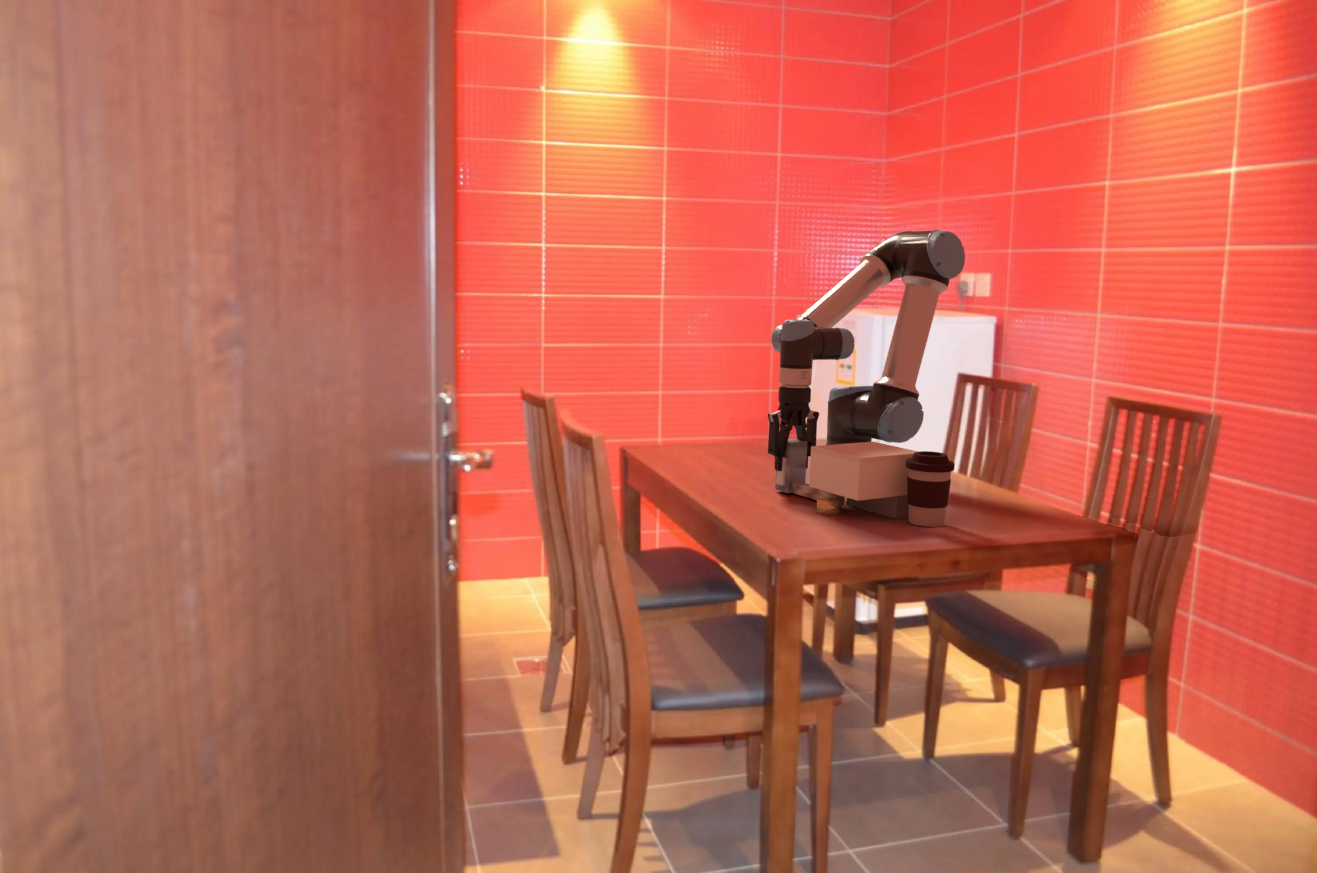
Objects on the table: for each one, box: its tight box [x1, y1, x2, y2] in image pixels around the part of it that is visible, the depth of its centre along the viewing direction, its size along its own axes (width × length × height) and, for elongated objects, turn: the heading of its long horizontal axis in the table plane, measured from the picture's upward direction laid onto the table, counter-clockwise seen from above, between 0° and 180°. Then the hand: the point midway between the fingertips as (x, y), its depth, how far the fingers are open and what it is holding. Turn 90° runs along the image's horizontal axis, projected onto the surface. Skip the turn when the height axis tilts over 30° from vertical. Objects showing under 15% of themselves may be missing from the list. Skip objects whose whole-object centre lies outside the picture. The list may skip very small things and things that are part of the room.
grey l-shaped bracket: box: [774, 438, 846, 507], centre depth 243 cm, size 21×5×12 cm, turn 30°
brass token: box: [816, 497, 841, 516], centre depth 230 cm, size 5×5×3 cm
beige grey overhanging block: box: [808, 441, 920, 520], centre depth 231 cm, size 16×18×14 cm
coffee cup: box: [906, 450, 955, 528], centre depth 221 cm, size 10×10×15 cm
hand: (790, 483), depth 250 cm, fingers closed on grey l-shaped bracket, 5 cm apart
